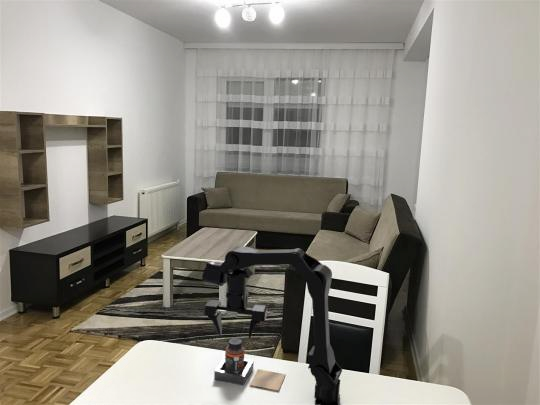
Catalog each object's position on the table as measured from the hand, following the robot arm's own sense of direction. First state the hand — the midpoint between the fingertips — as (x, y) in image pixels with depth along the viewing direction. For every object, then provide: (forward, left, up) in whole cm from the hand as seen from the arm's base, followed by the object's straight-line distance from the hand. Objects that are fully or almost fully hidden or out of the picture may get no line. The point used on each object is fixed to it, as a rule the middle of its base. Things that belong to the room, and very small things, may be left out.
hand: (235, 336), depth 140 cm
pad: (-11, -1, -13) cm, 17 cm away
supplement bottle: (0, -1, -14) cm, 14 cm away
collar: (0, -1, -13) cm, 13 cm away
